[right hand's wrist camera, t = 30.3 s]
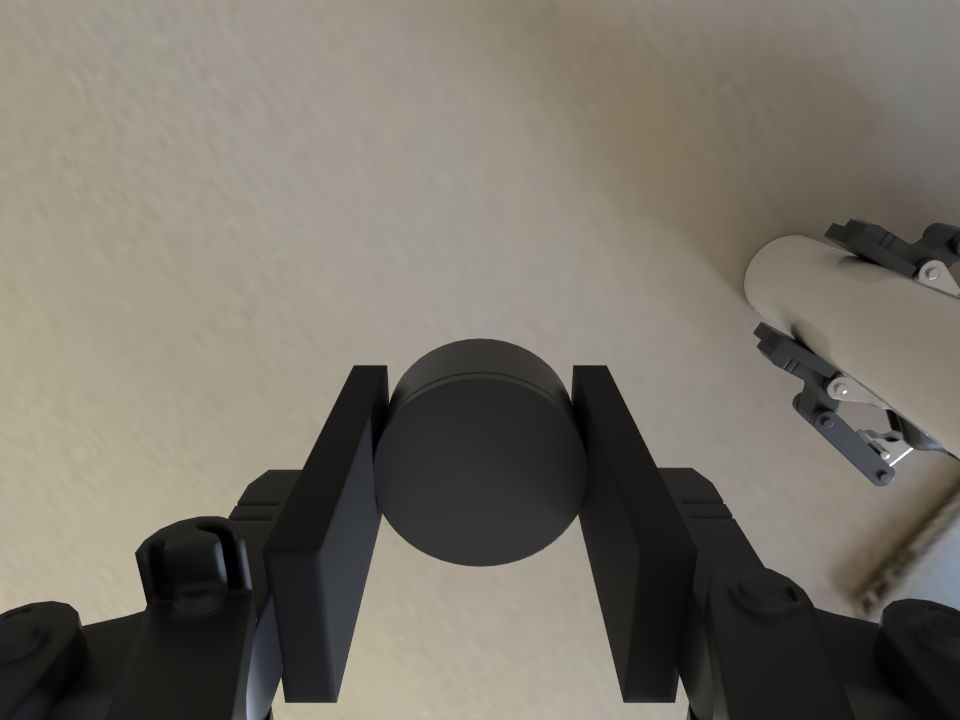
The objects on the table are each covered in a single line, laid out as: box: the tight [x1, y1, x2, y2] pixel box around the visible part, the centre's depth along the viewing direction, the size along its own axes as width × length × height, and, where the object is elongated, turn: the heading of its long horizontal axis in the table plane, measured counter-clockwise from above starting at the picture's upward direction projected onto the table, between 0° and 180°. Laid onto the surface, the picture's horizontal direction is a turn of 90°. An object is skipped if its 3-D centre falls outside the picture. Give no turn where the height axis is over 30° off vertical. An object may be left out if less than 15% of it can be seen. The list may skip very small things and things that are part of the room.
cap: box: [373, 339, 588, 567], centre depth 14 cm, size 4×4×2 cm
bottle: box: [744, 235, 960, 459], centre depth 25 cm, size 5×5×25 cm
